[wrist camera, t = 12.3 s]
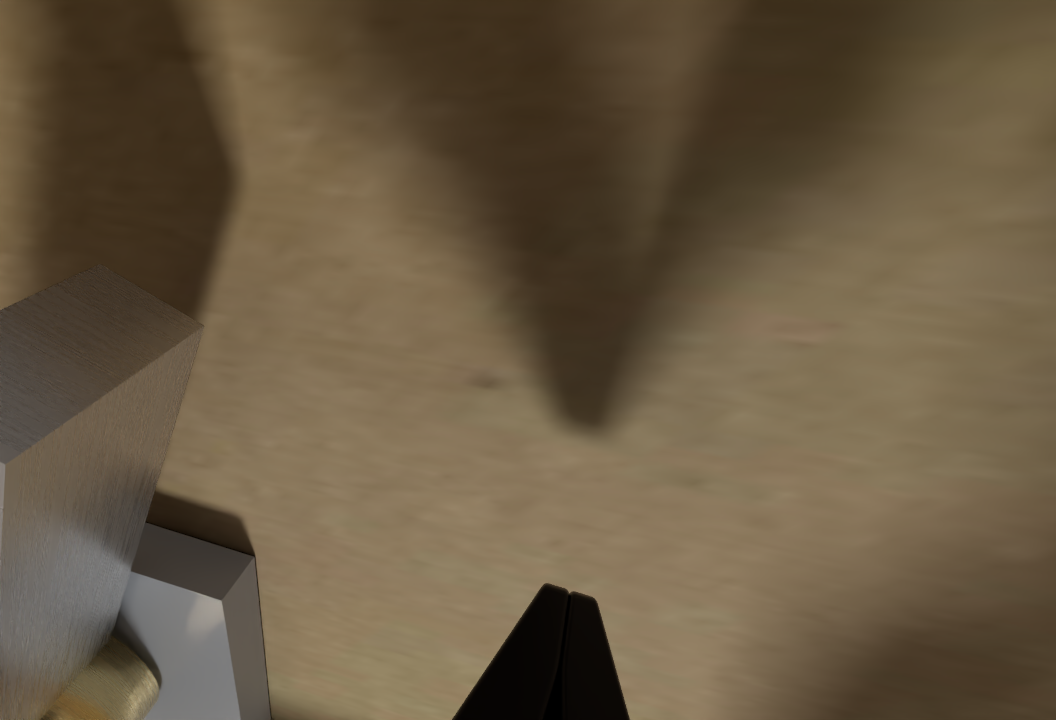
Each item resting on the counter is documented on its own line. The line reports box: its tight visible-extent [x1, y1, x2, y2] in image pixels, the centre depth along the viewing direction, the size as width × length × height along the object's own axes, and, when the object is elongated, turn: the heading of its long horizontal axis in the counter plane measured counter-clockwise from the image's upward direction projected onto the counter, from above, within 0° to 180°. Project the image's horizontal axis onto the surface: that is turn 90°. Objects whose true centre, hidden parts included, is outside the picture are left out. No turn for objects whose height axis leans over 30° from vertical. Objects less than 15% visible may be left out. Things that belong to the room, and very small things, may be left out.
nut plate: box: [112, 523, 271, 720], centre depth 16 cm, size 9×9×1 cm
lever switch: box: [0, 264, 204, 720], centre depth 11 cm, size 15×5×3 cm, turn 149°
